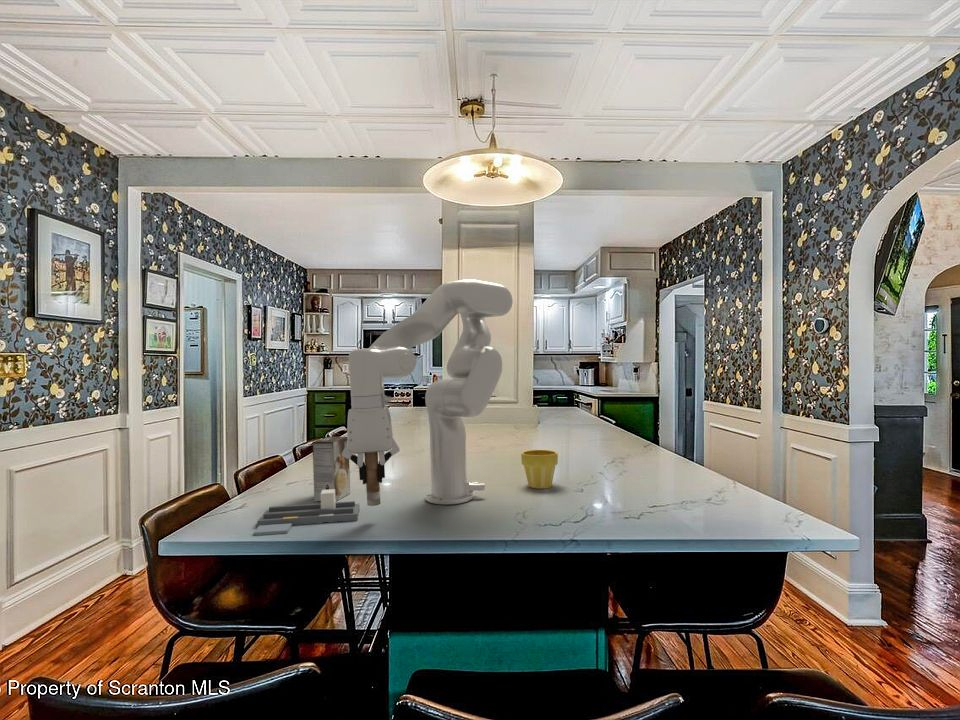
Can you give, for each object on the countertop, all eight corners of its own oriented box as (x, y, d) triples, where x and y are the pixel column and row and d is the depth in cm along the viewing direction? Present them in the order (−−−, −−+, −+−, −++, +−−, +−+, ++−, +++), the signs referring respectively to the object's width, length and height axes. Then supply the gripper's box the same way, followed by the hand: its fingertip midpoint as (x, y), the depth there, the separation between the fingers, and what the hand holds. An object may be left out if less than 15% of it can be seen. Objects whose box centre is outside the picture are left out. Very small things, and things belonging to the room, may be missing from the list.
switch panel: (359, 509, 131) (359, 499, 131) (357, 520, 122) (357, 509, 122) (266, 515, 127) (266, 505, 127) (257, 527, 118) (257, 516, 118)
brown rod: (380, 501, 123) (377, 442, 122) (380, 505, 120) (376, 444, 119) (367, 502, 122) (364, 443, 122) (367, 506, 119) (363, 445, 119)
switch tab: (335, 507, 127) (335, 489, 127) (334, 511, 124) (333, 492, 124) (322, 508, 127) (322, 489, 127) (320, 512, 123) (320, 493, 123)
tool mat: (291, 525, 119) (291, 523, 119) (287, 532, 114) (287, 530, 114) (259, 528, 118) (259, 525, 118) (253, 535, 113) (253, 532, 113)
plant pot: (533, 480, 158) (532, 447, 158) (564, 484, 152) (563, 450, 152) (515, 487, 149) (514, 453, 149) (547, 492, 143) (546, 456, 143)
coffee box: (329, 492, 148) (328, 436, 148) (350, 493, 147) (349, 436, 147) (313, 501, 139) (311, 441, 139) (335, 502, 138) (334, 441, 138)
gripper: (403, 398, 125) (407, 474, 126) (333, 403, 122) (337, 481, 123) (404, 402, 118) (408, 483, 118) (329, 407, 115) (334, 489, 116)
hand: (372, 481), depth 121 cm, fingers closed on brown rod, 3 cm apart
